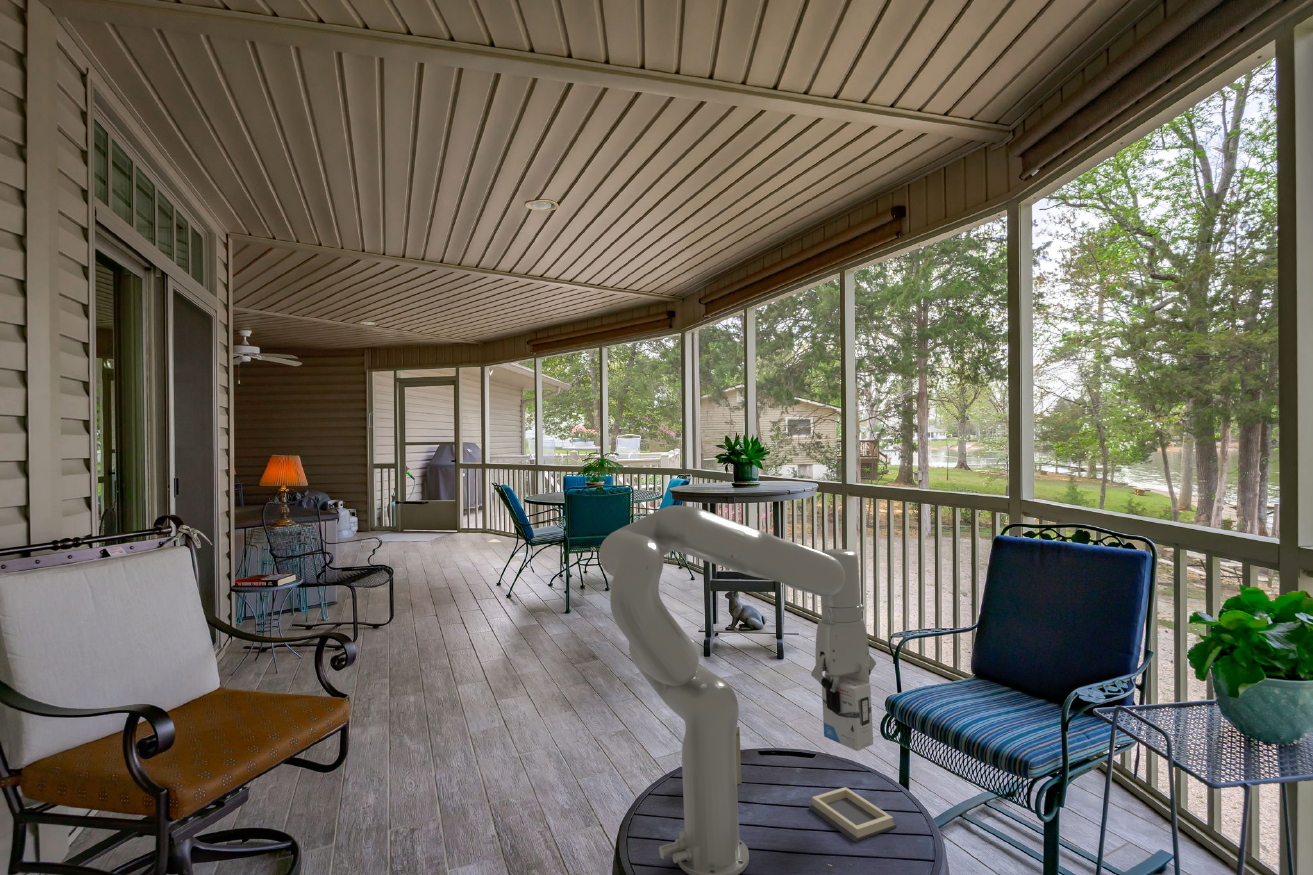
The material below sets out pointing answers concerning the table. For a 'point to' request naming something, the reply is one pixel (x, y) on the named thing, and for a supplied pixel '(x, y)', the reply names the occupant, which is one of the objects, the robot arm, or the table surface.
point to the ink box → (851, 712)
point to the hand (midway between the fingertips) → (846, 706)
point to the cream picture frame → (851, 814)
